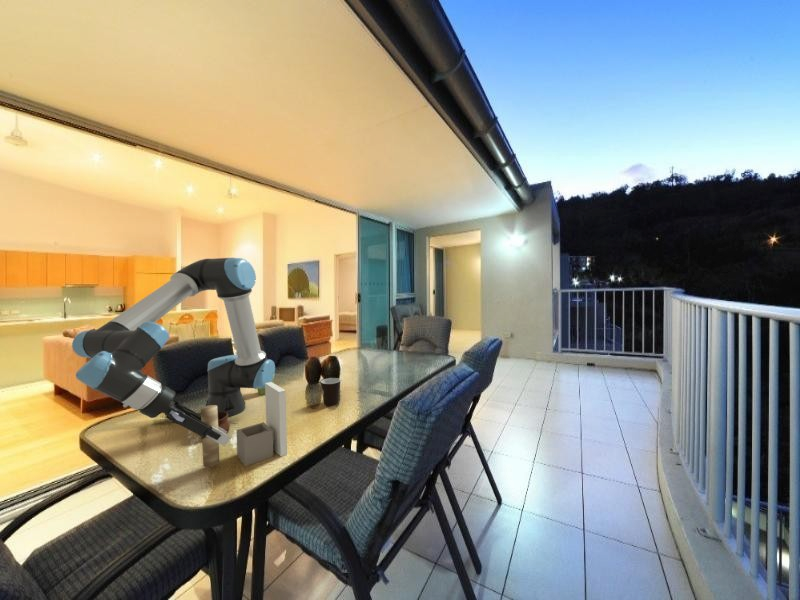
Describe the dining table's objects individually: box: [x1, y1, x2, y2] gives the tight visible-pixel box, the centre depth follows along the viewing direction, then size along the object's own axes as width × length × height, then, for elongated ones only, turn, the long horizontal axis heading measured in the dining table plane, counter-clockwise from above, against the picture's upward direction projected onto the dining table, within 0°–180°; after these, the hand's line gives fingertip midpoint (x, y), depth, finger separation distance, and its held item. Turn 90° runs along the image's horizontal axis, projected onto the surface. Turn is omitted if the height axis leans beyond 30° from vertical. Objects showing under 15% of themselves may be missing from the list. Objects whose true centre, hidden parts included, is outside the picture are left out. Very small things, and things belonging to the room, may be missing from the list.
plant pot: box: [256, 373, 276, 396], centre depth 152 cm, size 9×9×9 cm
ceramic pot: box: [218, 411, 238, 435], centre depth 109 cm, size 18×18×7 cm
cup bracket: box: [236, 382, 288, 467], centre depth 95 cm, size 12×12×20 cm
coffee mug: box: [320, 377, 342, 407], centre depth 139 cm, size 12×9×10 cm
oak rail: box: [200, 405, 221, 468], centre depth 87 cm, size 4×4×16 cm
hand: (225, 438), depth 90 cm, fingers closed on oak rail, 4 cm apart
